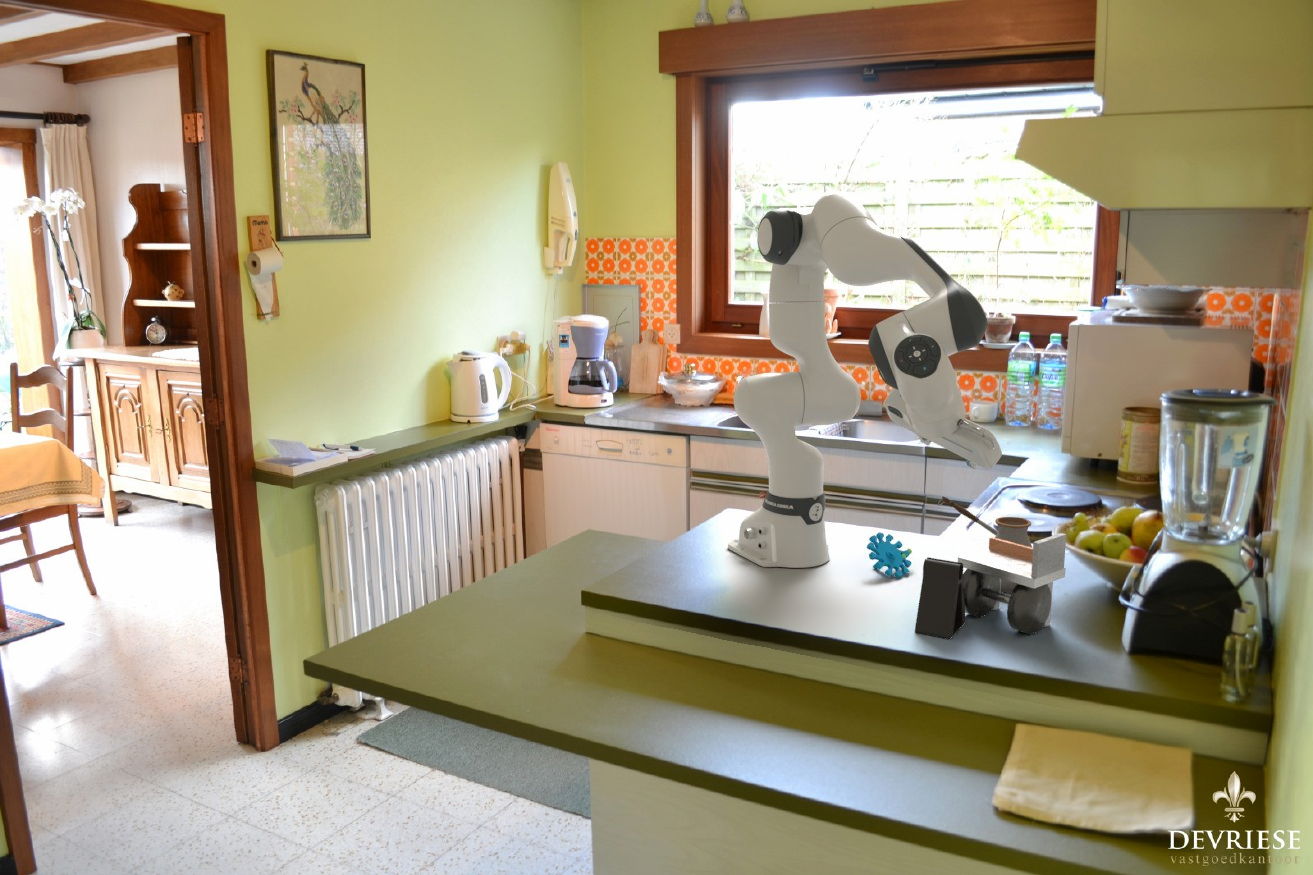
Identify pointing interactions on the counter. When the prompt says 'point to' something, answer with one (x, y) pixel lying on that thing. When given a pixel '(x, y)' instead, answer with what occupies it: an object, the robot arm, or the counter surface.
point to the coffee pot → (1001, 533)
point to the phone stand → (941, 599)
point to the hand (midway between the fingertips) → (950, 452)
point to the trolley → (1015, 580)
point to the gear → (889, 555)
